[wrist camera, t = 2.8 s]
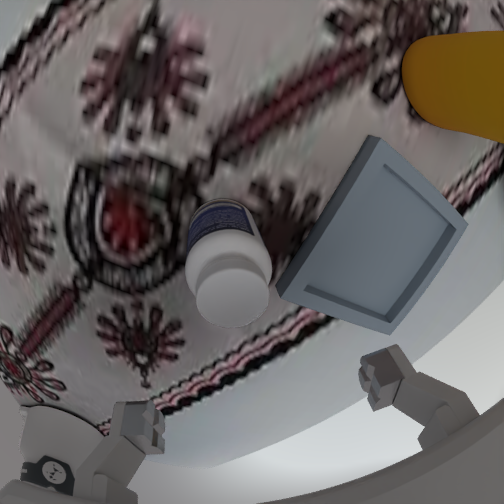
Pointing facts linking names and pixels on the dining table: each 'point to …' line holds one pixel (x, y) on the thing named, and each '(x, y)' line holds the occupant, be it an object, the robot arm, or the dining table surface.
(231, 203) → the pill bottle
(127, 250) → the dining table surface
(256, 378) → the dining table surface
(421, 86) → the beer bottle
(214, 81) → the dining table surface
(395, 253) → the dish
